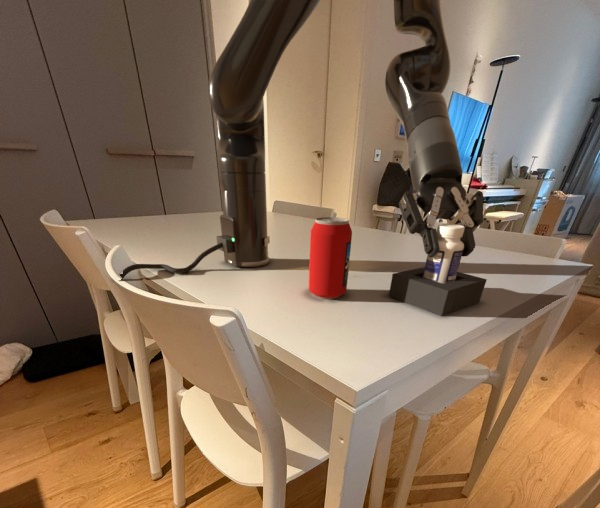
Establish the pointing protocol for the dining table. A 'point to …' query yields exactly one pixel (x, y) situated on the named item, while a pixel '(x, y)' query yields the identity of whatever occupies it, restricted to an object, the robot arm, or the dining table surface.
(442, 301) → the socket pad
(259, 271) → the dining table surface
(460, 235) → the pill bottle
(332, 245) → the beverage can
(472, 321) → the dining table surface
